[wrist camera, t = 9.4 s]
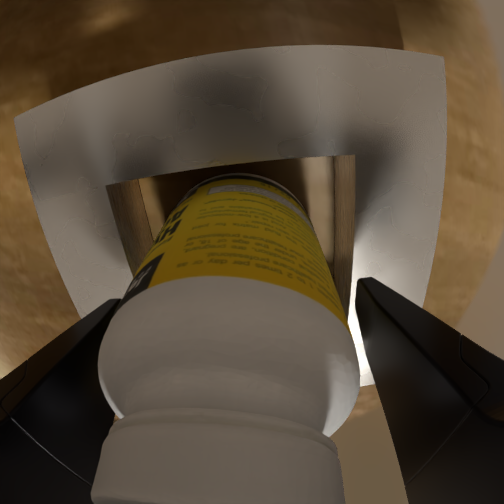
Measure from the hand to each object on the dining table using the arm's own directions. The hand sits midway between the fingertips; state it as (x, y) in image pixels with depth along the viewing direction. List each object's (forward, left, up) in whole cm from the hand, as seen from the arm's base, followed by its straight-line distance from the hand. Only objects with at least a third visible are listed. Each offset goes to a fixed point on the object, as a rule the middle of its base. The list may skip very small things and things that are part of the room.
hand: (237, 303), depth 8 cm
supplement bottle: (0, 0, -4) cm, 4 cm away
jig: (0, 0, -4) cm, 4 cm away
